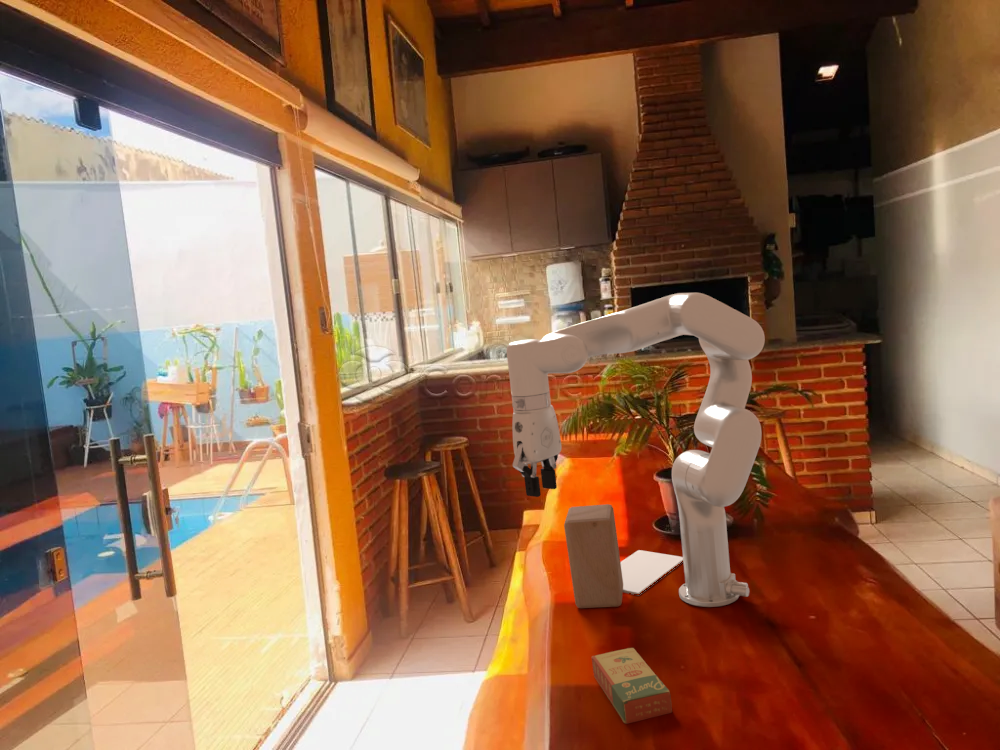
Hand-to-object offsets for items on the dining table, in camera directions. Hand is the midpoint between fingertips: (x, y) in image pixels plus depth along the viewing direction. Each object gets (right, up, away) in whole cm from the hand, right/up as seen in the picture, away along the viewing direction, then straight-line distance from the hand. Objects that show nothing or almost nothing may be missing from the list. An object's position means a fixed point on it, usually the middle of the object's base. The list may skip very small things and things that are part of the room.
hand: (541, 491), depth 151 cm
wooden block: (+14, -26, +15) cm, 33 cm away
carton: (+14, -31, -22) cm, 41 cm away
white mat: (+24, -23, +28) cm, 44 cm away
